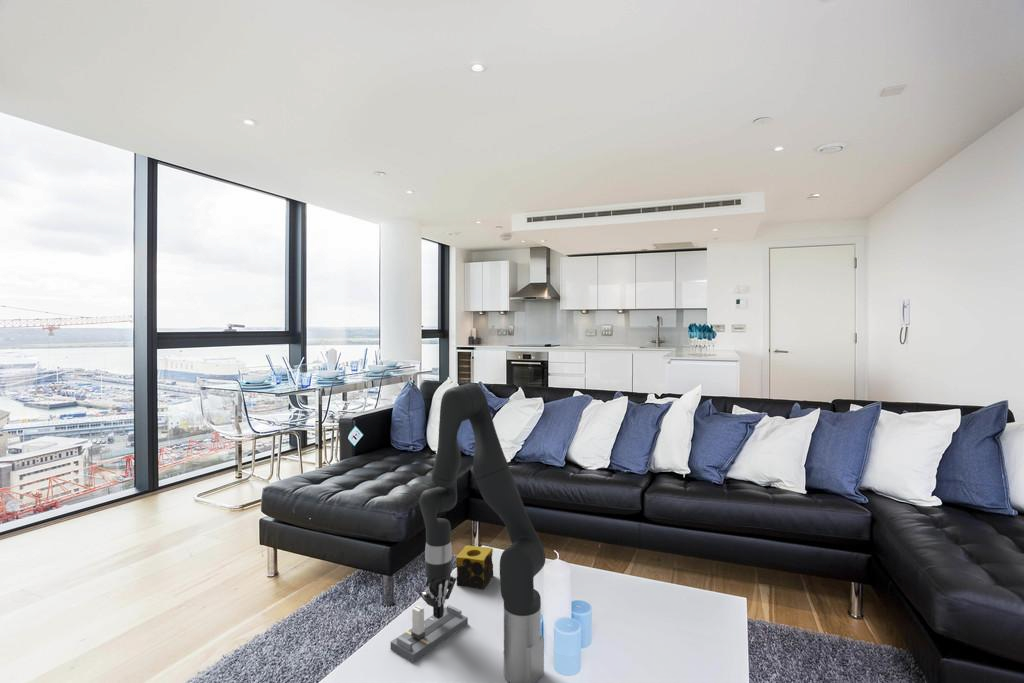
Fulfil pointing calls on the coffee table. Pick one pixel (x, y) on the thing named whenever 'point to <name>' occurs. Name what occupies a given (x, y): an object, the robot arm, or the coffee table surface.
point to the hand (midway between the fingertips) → (438, 616)
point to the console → (430, 634)
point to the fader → (418, 622)
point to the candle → (474, 567)
